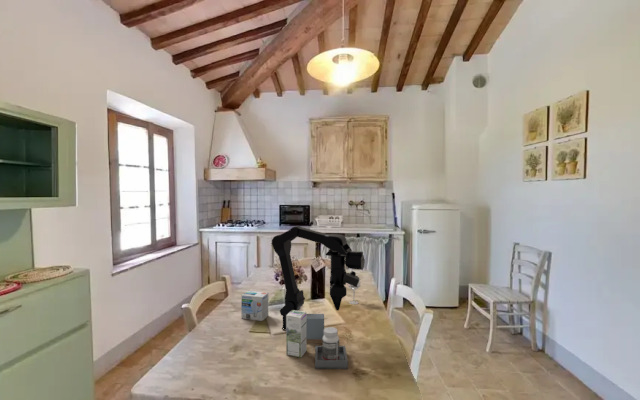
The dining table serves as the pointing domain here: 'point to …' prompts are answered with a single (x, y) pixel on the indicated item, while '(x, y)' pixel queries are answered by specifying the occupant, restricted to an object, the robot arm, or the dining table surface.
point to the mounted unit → (314, 328)
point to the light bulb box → (254, 305)
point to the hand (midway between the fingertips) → (337, 305)
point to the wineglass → (354, 291)
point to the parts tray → (331, 364)
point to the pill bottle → (330, 344)
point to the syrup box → (296, 333)
